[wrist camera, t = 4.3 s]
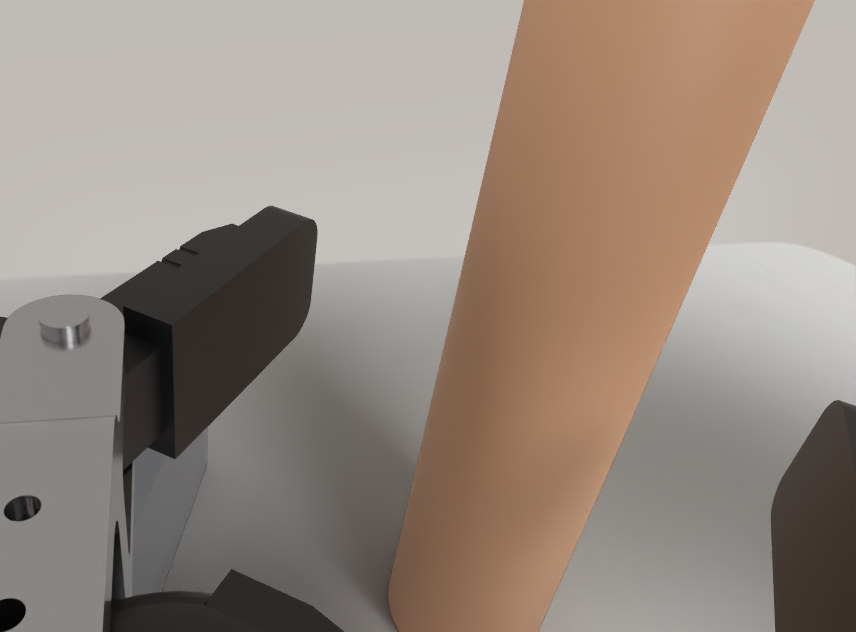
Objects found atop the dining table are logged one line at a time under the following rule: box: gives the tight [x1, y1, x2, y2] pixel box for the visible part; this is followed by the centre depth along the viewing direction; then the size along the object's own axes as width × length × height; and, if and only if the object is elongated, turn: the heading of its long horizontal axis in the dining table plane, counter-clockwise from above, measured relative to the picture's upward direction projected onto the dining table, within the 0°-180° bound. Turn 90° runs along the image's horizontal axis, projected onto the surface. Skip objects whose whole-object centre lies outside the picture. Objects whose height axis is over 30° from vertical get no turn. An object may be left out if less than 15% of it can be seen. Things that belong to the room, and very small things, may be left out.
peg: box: [388, 0, 815, 632], centre depth 15 cm, size 4×4×17 cm
